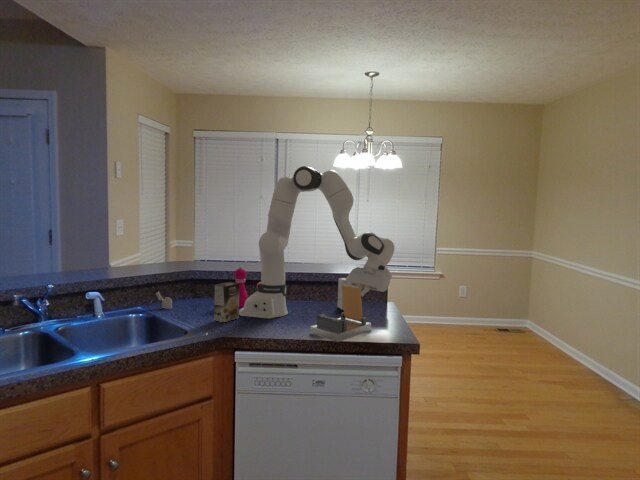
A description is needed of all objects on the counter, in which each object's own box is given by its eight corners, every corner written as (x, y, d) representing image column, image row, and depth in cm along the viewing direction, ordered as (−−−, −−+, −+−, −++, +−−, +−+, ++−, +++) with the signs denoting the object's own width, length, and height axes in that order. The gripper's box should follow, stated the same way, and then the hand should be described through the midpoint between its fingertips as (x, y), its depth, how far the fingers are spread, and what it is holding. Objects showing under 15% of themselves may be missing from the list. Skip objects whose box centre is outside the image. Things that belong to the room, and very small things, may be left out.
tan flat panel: (344, 318, 188) (345, 317, 188) (361, 322, 182) (363, 321, 182) (341, 285, 184) (343, 284, 185) (359, 289, 178) (360, 288, 179)
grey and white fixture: (344, 323, 192) (345, 307, 191) (370, 330, 183) (371, 313, 182) (310, 333, 176) (310, 316, 175) (337, 342, 166) (338, 323, 166)
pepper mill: (235, 308, 212) (235, 267, 210) (230, 304, 219) (231, 265, 217) (249, 306, 216) (250, 266, 214) (244, 303, 222) (245, 264, 220)
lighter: (172, 308, 209) (171, 291, 208) (171, 308, 207) (171, 292, 206) (156, 307, 208) (156, 291, 207) (155, 308, 206) (155, 292, 206)
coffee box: (224, 323, 186) (225, 286, 184) (213, 321, 189) (214, 284, 187) (239, 319, 194) (239, 283, 192) (228, 316, 197) (228, 281, 195)
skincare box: (341, 310, 215) (342, 280, 213) (336, 307, 220) (337, 277, 219) (357, 308, 218) (358, 279, 216) (351, 306, 223) (352, 277, 222)
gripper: (351, 262, 198) (337, 286, 192) (390, 268, 185) (376, 294, 178) (357, 271, 202) (343, 295, 195) (395, 277, 188) (381, 303, 182)
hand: (359, 295), depth 187 cm, fingers closed
